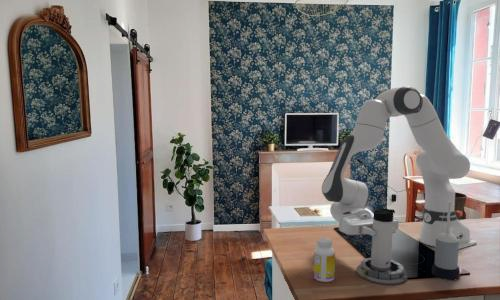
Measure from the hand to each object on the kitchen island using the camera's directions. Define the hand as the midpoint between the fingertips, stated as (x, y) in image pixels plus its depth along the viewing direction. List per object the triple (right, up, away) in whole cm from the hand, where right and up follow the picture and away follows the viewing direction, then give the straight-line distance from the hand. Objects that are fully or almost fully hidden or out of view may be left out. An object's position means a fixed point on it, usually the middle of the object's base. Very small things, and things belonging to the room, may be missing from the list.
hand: (384, 232), depth 123 cm
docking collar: (0, -15, +2) cm, 15 cm away
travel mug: (0, -13, +2) cm, 13 cm away
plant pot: (+49, -10, +53) cm, 73 cm away
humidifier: (+21, -15, +2) cm, 26 cm away
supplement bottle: (-20, -15, -1) cm, 25 cm away
